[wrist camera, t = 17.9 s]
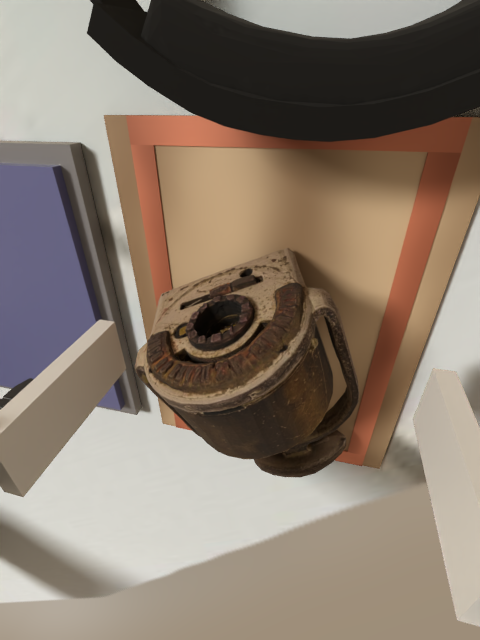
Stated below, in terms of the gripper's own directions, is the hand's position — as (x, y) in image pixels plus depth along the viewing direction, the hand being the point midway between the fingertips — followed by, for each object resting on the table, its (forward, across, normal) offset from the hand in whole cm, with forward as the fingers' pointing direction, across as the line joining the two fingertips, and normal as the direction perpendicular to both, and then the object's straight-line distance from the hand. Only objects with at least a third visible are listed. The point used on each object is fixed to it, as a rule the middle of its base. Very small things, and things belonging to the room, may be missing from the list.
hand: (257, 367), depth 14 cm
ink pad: (+3, -14, 0) cm, 14 cm away
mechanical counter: (+3, 0, -2) cm, 4 cm away
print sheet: (+3, 0, 0) cm, 3 cm away
